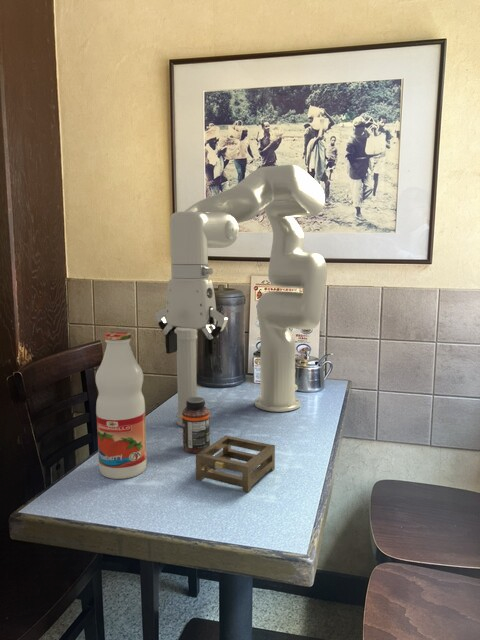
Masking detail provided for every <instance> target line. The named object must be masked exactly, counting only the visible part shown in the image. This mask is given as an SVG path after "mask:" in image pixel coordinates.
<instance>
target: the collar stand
mask: <svg viewBox="0 0 480 640" xmlns="http://www.w3.org/2000/svg"><path fill="white" fill-rule="evenodd" d="M231 446H232V447H238V448H242V449H247V450H251V451H256V452H257V454H255V453H251V452H245V451H242V450H236V449H232V448H231ZM237 460H238V461H237ZM275 463H276V446H275V445H274V444H271V443H270V444H269V443H266V442H265V443H264V442H260V441H255V440H252V439H251V440H250V439H245V438H240V437H236V436H230V435H224V436H222V437H221V438H219V439H218V440H217V441H215V442H213V443H212V444H210V446H208V447H207V448H205V449H204V450H202V451H201V452H199V453H195V480H196V481H203V480H204V479H207V480H212V481H214V482H215V481H216V482H220V483H222V484H223V483H224V484H228V485H230V486H231V485H232V486H235V487H239V488H242V491H241V492H243V493H248V494H249V493H250V492H251V491H252V486H253V485H255V483H256V482H257V481H259V480H260V479H261V478H262V477H263V476H265V475H266V474H267V473H268V472H273V471H275V469H276V464H275ZM214 468H215V469H220V470H228V471H232V472H236V473H241V474H242V475H241V476H240V475H236V474H231V473H228V472H224V471H220V470H215V469H214Z"/></svg>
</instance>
